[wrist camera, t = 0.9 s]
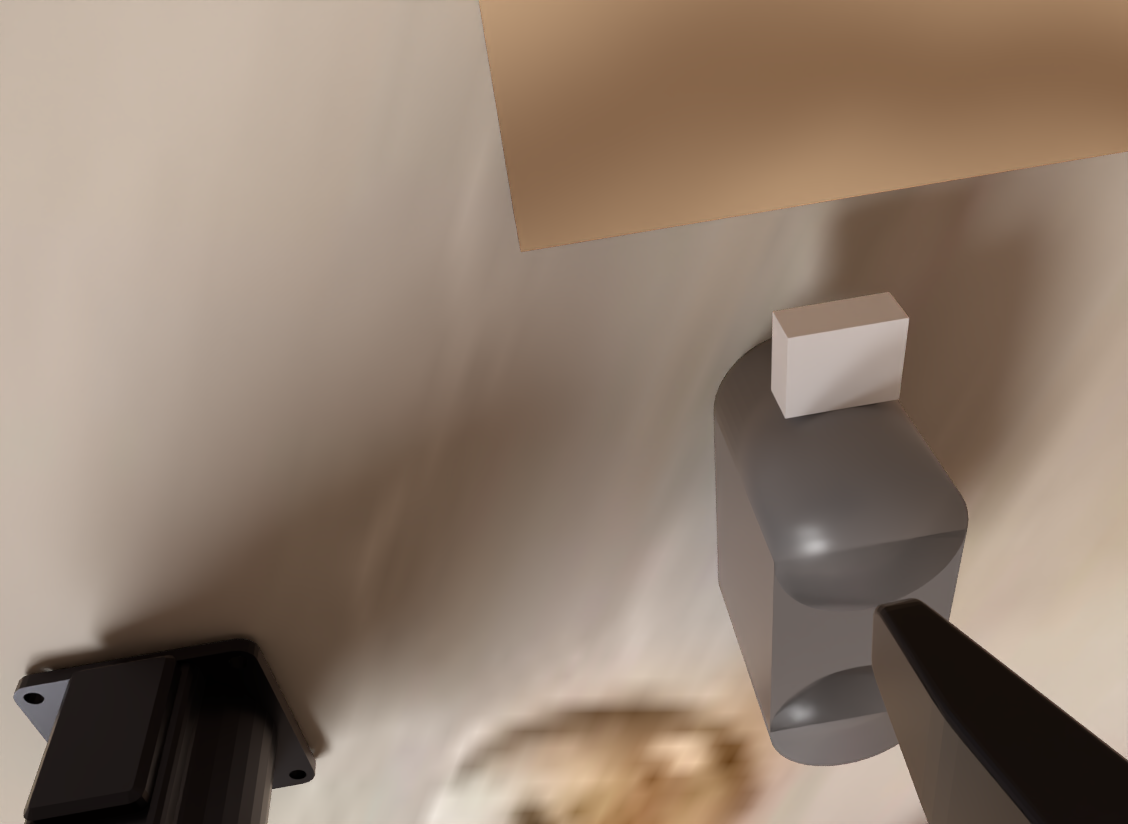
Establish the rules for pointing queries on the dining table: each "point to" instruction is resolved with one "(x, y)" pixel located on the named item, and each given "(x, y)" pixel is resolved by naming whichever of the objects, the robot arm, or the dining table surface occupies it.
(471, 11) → the dining table surface
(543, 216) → the oak board
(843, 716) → the plug
